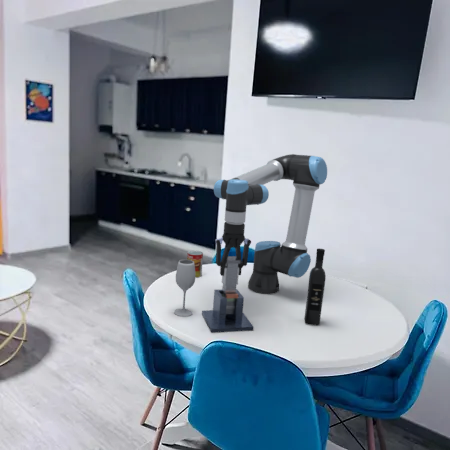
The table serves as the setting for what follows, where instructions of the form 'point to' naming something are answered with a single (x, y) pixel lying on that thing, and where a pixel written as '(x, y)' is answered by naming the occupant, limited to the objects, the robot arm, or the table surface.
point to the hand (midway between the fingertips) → (229, 283)
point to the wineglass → (185, 282)
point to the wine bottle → (315, 291)
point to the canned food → (196, 261)
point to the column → (231, 282)
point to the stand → (221, 320)
